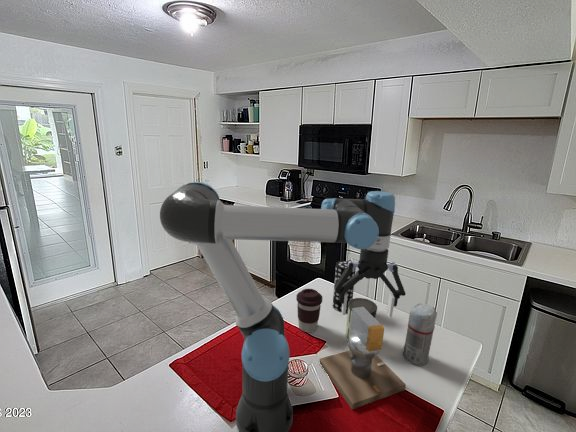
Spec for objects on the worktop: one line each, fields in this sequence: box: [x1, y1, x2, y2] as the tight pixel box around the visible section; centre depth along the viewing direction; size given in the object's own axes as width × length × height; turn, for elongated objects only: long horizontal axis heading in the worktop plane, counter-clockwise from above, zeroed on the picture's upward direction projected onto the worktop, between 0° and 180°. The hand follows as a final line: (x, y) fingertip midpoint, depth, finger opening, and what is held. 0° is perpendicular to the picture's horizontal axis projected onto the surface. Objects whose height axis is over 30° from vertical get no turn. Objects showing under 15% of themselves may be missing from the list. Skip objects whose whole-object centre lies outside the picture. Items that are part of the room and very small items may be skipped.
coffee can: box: [344, 297, 378, 343], centre depth 117 cm, size 10×10×14 cm
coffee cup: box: [295, 288, 323, 333], centre depth 122 cm, size 10×10×15 cm
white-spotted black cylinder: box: [332, 260, 357, 313], centre depth 137 cm, size 8×8×20 cm
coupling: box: [348, 307, 385, 359], centre depth 96 cm, size 12×9×11 cm
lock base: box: [318, 349, 407, 410], centre depth 99 cm, size 19×19×10 cm
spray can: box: [402, 302, 438, 367], centre depth 106 cm, size 8×8×20 cm
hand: (366, 313), depth 94 cm, fingers open, 13 cm apart
